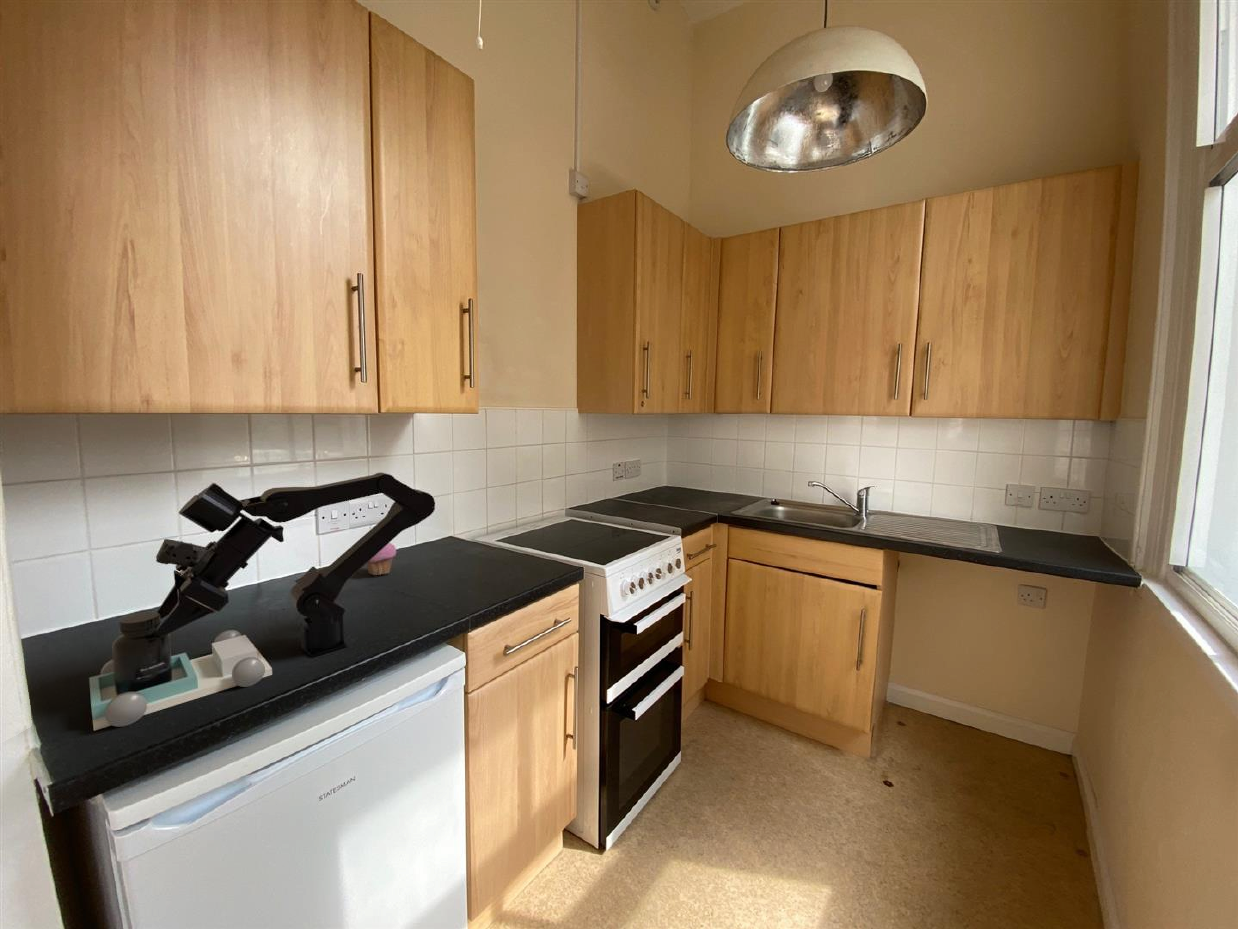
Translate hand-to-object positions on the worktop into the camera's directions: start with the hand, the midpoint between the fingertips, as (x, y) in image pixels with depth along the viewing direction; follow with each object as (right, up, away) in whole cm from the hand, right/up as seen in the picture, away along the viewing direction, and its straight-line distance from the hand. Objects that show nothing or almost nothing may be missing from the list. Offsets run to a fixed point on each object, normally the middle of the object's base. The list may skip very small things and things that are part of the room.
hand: (157, 626), depth 83 cm
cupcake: (+7, -5, +62) cm, 63 cm away
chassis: (+2, -11, +3) cm, 12 cm away
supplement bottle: (-2, -10, 0) cm, 10 cm away
